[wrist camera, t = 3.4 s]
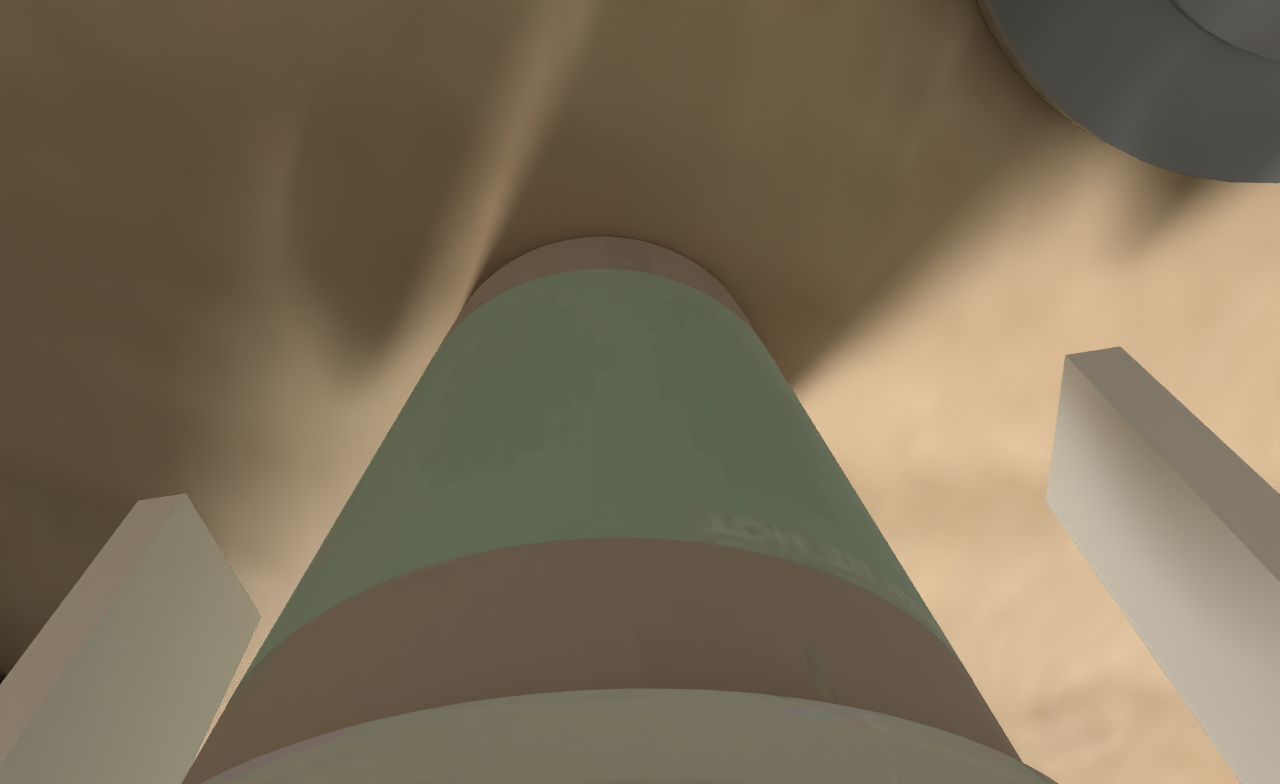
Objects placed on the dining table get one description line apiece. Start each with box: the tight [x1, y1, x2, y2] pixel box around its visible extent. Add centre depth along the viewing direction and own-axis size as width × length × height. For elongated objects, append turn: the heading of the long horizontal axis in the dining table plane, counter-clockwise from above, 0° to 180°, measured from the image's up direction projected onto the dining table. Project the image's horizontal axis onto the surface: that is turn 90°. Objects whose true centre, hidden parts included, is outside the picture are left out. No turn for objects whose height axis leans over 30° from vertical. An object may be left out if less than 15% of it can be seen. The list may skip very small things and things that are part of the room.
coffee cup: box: [181, 236, 1058, 784], centre depth 10 cm, size 9×8×12 cm
